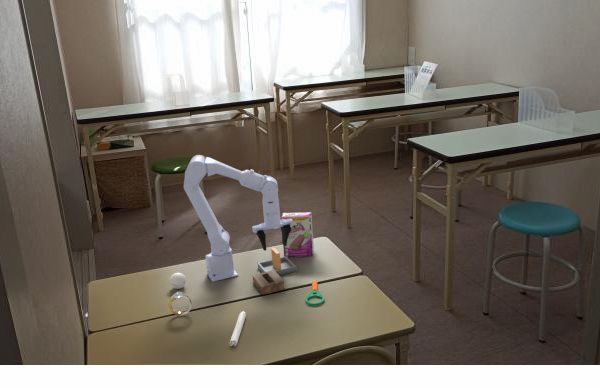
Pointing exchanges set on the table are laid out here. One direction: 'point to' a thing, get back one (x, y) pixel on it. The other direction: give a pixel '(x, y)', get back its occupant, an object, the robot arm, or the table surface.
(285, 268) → the tray
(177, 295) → the ring
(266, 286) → the brown slotted block
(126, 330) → the table surface
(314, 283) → the magnifying glass
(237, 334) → the marker
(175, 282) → the white egg
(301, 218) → the candy bar box
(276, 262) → the tan wooden plank
